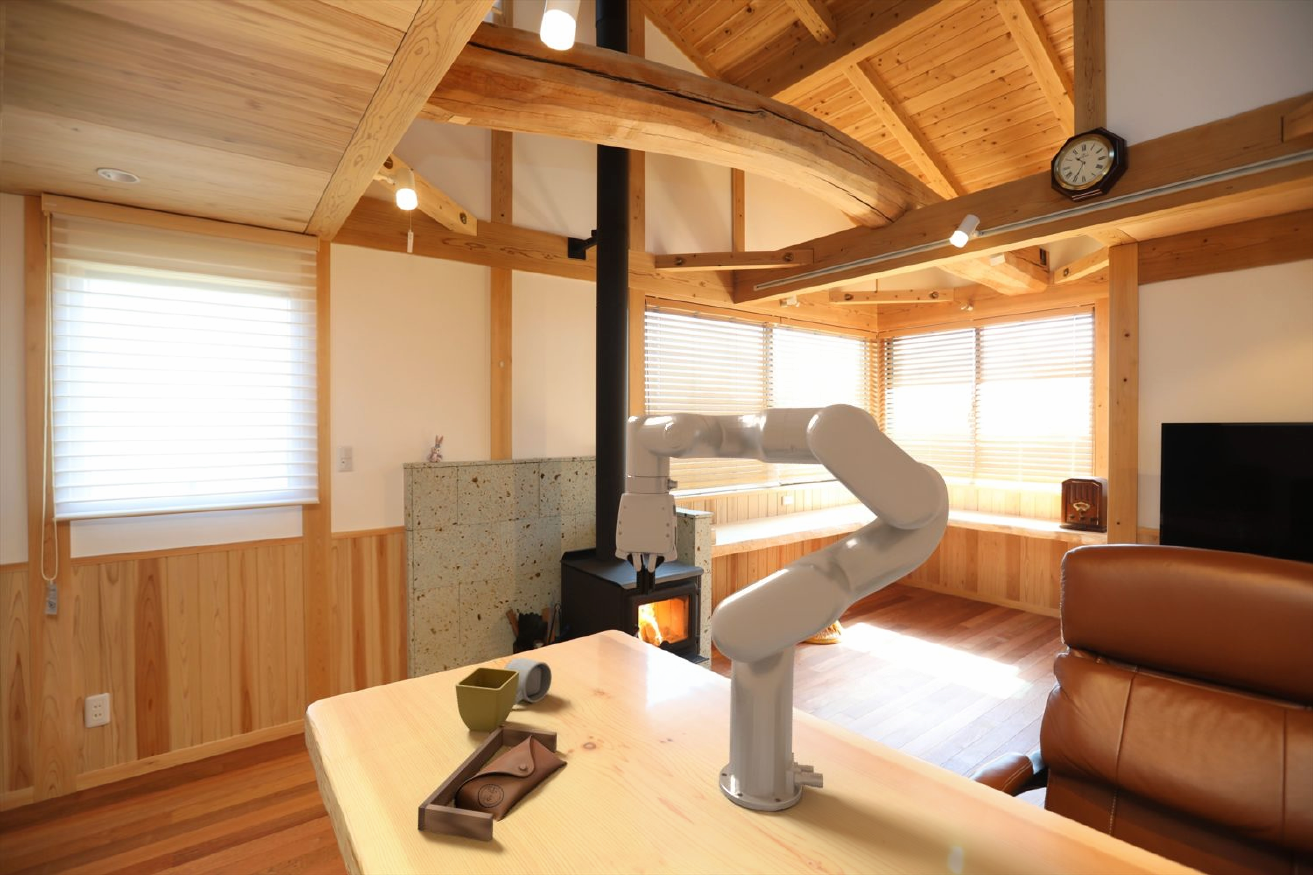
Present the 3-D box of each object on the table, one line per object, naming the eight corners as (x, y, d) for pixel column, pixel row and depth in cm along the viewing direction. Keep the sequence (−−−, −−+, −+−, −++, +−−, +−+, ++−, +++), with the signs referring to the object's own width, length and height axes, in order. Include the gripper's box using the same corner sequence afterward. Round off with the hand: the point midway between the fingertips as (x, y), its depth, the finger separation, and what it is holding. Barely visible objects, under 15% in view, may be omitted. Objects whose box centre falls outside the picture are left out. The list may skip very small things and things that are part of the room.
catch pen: (556, 749, 102) (556, 732, 102) (489, 841, 78) (489, 818, 78) (499, 742, 104) (500, 725, 104) (417, 829, 80) (418, 807, 80)
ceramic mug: (525, 685, 128) (525, 649, 128) (552, 694, 124) (552, 658, 124) (485, 703, 120) (485, 665, 120) (513, 714, 115) (513, 674, 115)
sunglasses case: (500, 823, 82) (481, 775, 83) (465, 837, 84) (447, 790, 86) (570, 760, 98) (553, 721, 100) (539, 773, 101) (523, 735, 102)
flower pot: (498, 740, 105) (499, 689, 105) (453, 734, 106) (454, 684, 106) (519, 717, 113) (520, 670, 113) (477, 712, 115) (478, 666, 115)
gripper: (693, 486, 104) (691, 591, 104) (611, 483, 107) (609, 585, 107) (687, 489, 97) (685, 602, 97) (599, 486, 100) (597, 595, 100)
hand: (645, 593), depth 102 cm, fingers closed
